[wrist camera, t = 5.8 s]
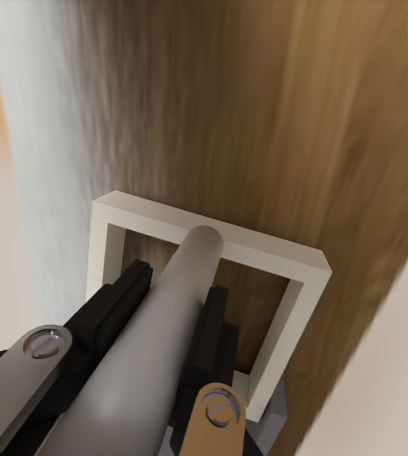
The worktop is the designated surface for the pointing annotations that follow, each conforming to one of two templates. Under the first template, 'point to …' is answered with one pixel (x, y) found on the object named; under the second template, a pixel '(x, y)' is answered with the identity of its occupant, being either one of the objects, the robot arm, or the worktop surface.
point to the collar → (176, 324)
